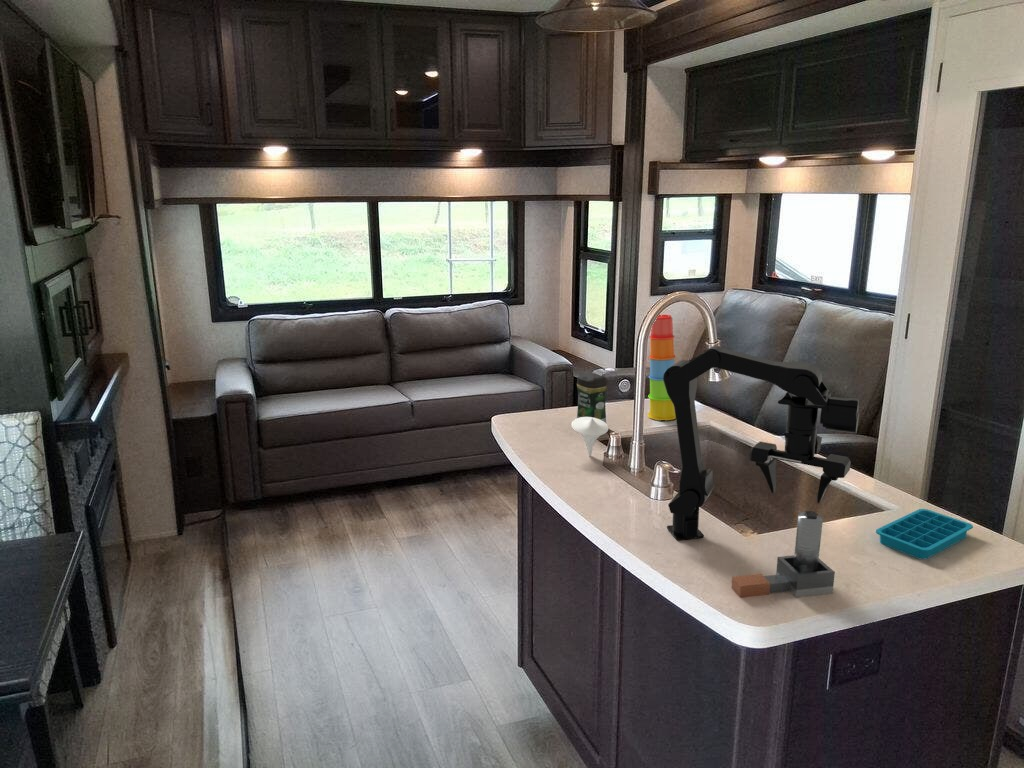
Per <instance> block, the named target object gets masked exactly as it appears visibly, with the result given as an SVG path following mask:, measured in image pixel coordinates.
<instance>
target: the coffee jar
mask: <svg viewBox="0 0 1024 768" xmlns="http://www.w3.org/2000/svg"><path fill="white" fill-rule="evenodd" d="M576 380H577V381H576V388H577V412H576V413H577V415H576V419H577V418H580V417H593V418H597V419H600V420H602V421H604V422H605V423H606V424H607V414H606V413H607V412H606V411H607V410H606V392H607V387H608V384H607V383H608V382H607V378H606V377H605V376H604V375H600V374H596V373H592V372H591V371H585V372H581V373H579V374H577V379H576Z"/></svg>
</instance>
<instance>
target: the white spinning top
mask: <svg viewBox="0 0 1024 768" xmlns="http://www.w3.org/2000/svg"><path fill="white" fill-rule="evenodd" d="M571 428H572V429H573V430H574V431H575V432H576V433H578V434H580V436H581V437H582V438H583V440H584V442H585V446H586V451H587V454H588V456H589V457H592V453H593V450H594V449H593V448H594V446H595V443H596V440H597V439H598V438H600V436H603V435H605V434H606V433H608V431H609V425H608V424H607V422H606V423H605V422H604V421H602V420H600V419H597V418H593V417H580V418H577V417H576V418H575V419H574V420H572V421H571Z"/></svg>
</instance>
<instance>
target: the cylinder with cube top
mask: <svg viewBox="0 0 1024 768" xmlns="http://www.w3.org/2000/svg"><path fill="white" fill-rule="evenodd" d="M797 515H798V516H797V526H796V536H795V546H794V553H793V555H794V563H793V568H794V569H795V570H796V571H797V572H798V573H799V574H800V573H809V572H817V569H818V560H819V559H820V558H819V557H820V550H821V549H820V548H821V540H822V531H823V521H824V517H823V516H822V515H821V514H819V513H817V512H816V511H815V510H804V511H803V512H799V513H798V514H797Z"/></svg>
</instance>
